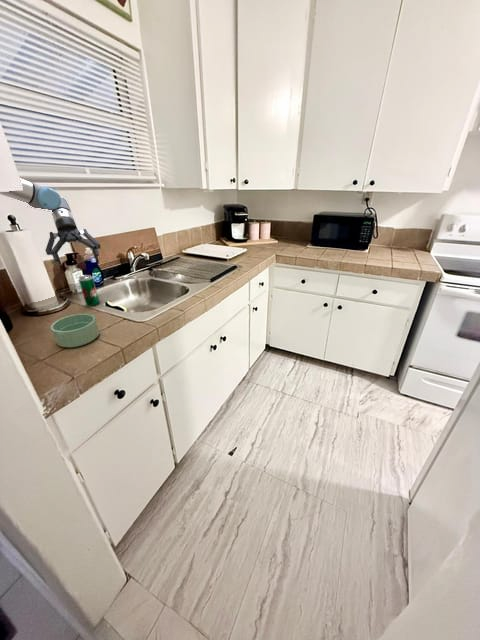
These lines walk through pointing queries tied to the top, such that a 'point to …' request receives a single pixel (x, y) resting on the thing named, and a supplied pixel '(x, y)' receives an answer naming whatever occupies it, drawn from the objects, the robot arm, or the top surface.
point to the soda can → (89, 290)
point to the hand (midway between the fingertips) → (80, 264)
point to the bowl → (75, 330)
